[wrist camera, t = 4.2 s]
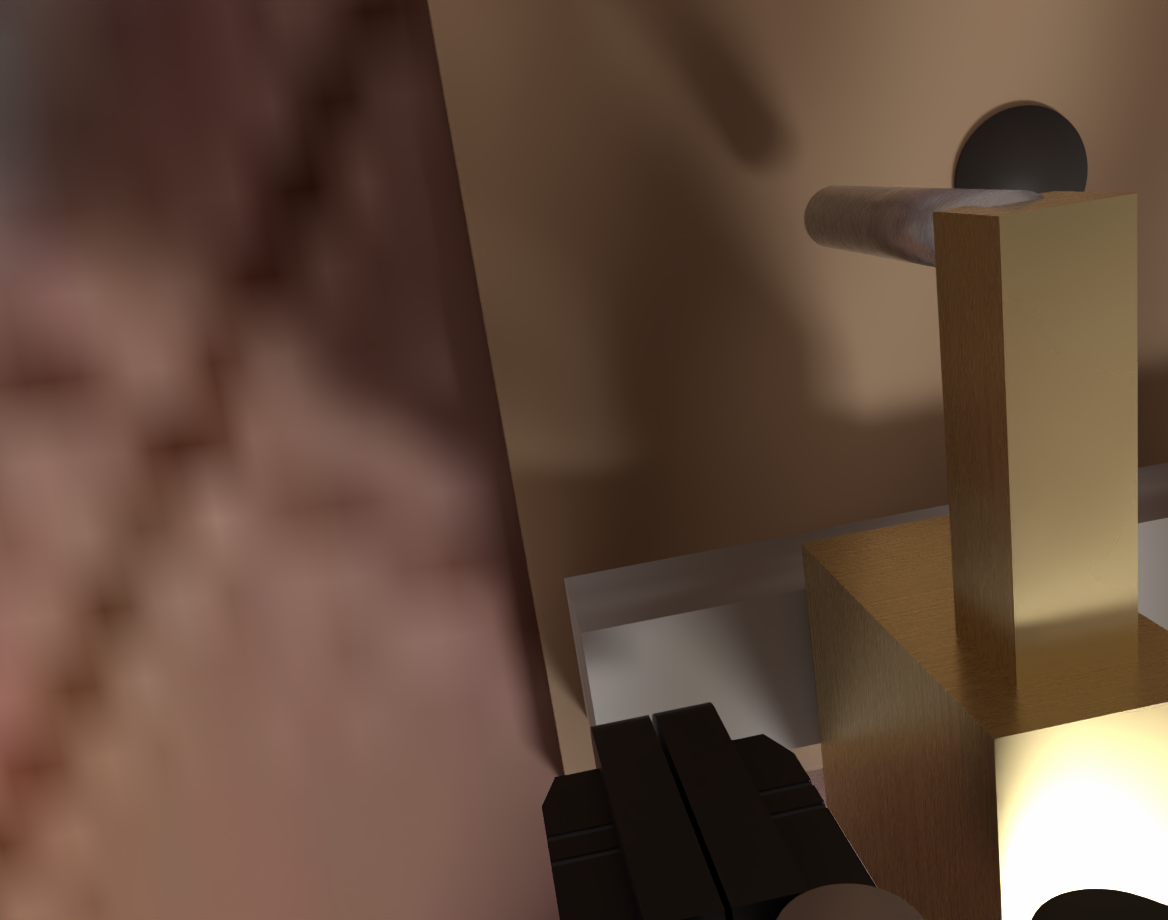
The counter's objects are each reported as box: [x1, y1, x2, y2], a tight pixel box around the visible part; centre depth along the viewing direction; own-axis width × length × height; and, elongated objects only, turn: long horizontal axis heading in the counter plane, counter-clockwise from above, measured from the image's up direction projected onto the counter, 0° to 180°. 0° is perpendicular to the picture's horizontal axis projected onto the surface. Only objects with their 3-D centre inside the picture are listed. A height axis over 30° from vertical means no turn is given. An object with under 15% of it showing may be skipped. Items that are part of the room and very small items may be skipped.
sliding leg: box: [801, 185, 1168, 920], centre depth 12 cm, size 2×8×6 cm, turn 8°
